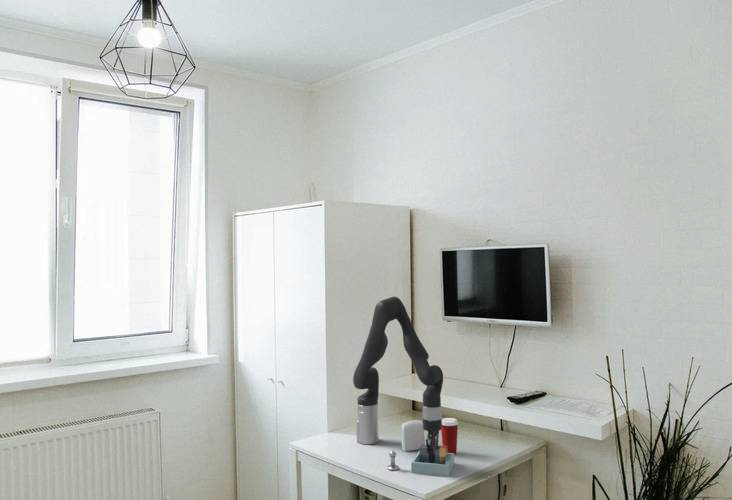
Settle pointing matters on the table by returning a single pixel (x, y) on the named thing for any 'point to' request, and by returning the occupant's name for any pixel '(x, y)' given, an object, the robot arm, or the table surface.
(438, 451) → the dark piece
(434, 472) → the bin
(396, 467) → the stud post
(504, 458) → the table surface
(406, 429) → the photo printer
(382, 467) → the table surface
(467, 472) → the table surface
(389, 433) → the table surface
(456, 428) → the paper cup
